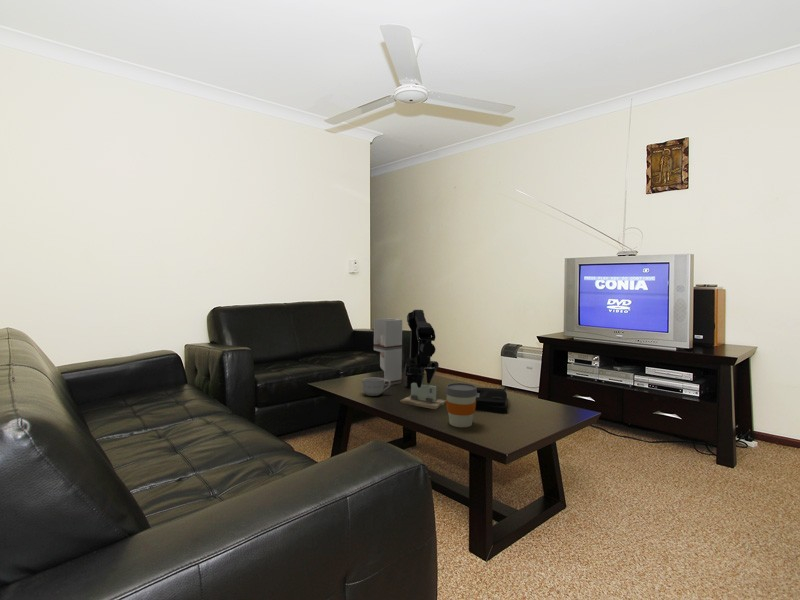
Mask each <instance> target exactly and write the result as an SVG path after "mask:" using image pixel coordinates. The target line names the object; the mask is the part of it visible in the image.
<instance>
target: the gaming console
mask: <svg viewBox="0 0 800 600" xmlns="http://www.w3.org/2000/svg"><path fill="white" fill-rule="evenodd" d="M476 387H477V386H476ZM507 400H508V393H507V391H506V390H505V389H504V388H494V387H493V388H492V387H479V386H478V387H477V395H476V407H475V412H486V413H492V414H499V415H500V414H501V415H506V414H508V405H507Z"/></svg>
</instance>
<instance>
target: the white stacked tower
mask: <svg viewBox="0 0 800 600" xmlns="http://www.w3.org/2000/svg"><path fill="white" fill-rule="evenodd" d="M373 351H376V352H379V366H380V369H381V370H382V371H383V376H379V377H378V378H383V379H384V381H385V380H389V381H390V382H391V385H390V386H393V385H398V384H402V373H403V372H402V371H403V370H402V368H403V367H402V366H403V365H402V363H403V361H402V360H403V319H401V318H393V317H392V318H391V317H388V318H385V317H384V318H373ZM388 385H389V383H388V382H385V384H384V387H387V386H388Z"/></svg>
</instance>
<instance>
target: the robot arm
mask: <svg viewBox="0 0 800 600" xmlns="http://www.w3.org/2000/svg"><path fill="white" fill-rule="evenodd" d="M406 322H407V326H408V327H409V330H410V337H409V338H410V341H409V343H410V344H409V357H406V358H405V366H404V371H403V372H404V374H403V375H404V376H405V377H406V385H404V388H408V389H411V384H412V383H417V386H418V388H420V387H421V384H423V381H424V378H425V377H424V376H425V372H426V383H427V385H431V382H432V379H433V377H434V375H435V374H436V372H437V371H438V368H439V367H440V366H439V362H438V361H434V360H432V359H431V358H432V357H433V355H434V354H435V353H436V346H435V344H433V343H432V342H436V341H435V340H436V332H435V329H434V327H433V326H432V324H431V323H429V322H428V321H427V319H426V316H425V313H424V310H423V309H412V311H410V312H408V314H407V316H406Z"/></svg>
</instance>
